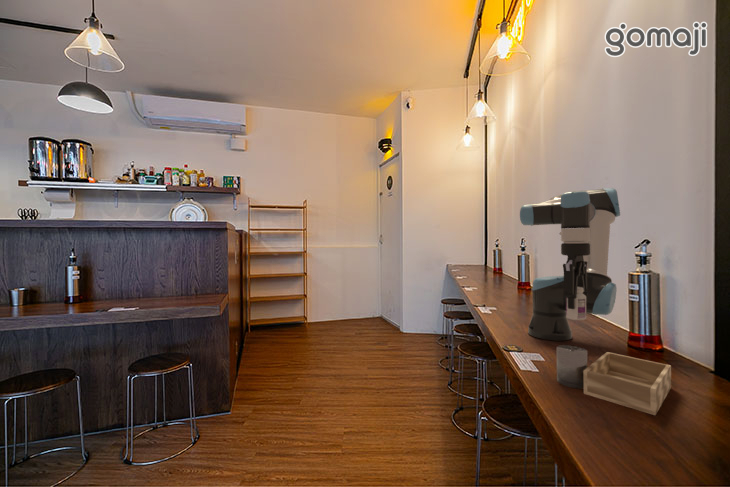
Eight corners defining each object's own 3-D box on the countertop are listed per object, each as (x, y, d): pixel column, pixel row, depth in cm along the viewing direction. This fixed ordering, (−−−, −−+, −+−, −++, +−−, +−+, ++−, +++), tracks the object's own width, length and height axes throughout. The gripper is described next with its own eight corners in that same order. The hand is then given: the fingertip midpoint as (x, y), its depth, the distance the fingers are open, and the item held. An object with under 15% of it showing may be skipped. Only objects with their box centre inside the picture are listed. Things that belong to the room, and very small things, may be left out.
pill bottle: (568, 315, 105) (568, 285, 105) (588, 318, 102) (588, 287, 101) (563, 318, 102) (563, 287, 101) (584, 321, 98) (583, 289, 98)
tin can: (562, 374, 93) (562, 343, 93) (591, 382, 88) (591, 349, 88) (552, 382, 89) (552, 349, 89) (582, 391, 84) (581, 356, 83)
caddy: (607, 371, 95) (606, 351, 95) (671, 387, 84) (670, 365, 84) (583, 393, 82) (583, 370, 82) (655, 415, 72) (655, 389, 72)
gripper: (572, 241, 110) (573, 310, 110) (549, 243, 98) (550, 320, 99) (599, 241, 104) (599, 314, 105) (578, 243, 92) (579, 325, 93)
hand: (576, 317), depth 102 cm, fingers closed on pill bottle, 5 cm apart
